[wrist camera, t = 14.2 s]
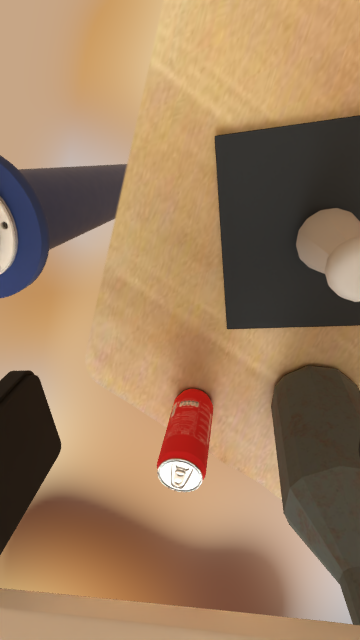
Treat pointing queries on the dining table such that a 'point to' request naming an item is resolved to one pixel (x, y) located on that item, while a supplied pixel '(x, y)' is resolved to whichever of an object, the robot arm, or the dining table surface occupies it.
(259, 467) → the dining table surface
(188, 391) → the beverage can
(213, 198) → the dining table surface
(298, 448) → the bottle
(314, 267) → the salt shaker
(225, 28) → the dining table surface
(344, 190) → the mat
